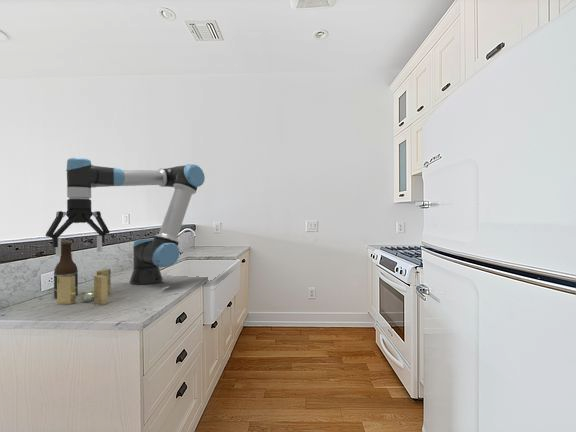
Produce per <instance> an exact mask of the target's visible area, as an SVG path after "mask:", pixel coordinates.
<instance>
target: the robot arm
mask: <svg viewBox="0 0 576 432" xmlns="http://www.w3.org/2000/svg"><path fill="white" fill-rule="evenodd" d="M65 171H66V182H67V183H66V197H67V198H68V199H67V200H66V206H67V207H66V209H67V210H66V211H61V210H58V211H56V214H55V218H54V220H53V221H52V223H51V224H50V226H49V228H48V229H47V232H46V233H45V237H48V238H51V241H52V243H51V245H52V248H55V256H56V257H60V256H61V243H62V238H60V236H62V234H63V233H64V232H65V231H66V230H67V229H68V228H69V227H70V226H71V225H73V224H79V223H80V224H81V223H82V224H84V223H86V224H87V225H89V226H90V227H91V228H92V229H93V230H94V231H95V232H96V233H97V234H98V235H96V252H99V253H102V252H103V244H104V243H105V236H106V235H107V234H110V230H109V229H108V226H107V224H106V222H105V221H104V219H103V218H102V216H101V215H102V213H101V211H99V210H98V211H97V210H96V211H92V200H91V199H92V188H102V187H104V188H105V187H107V188H108V187H134V186H135V187H137V186H139V187H140V186H159V187H161V188H163V187H167V188H174V192H173V194H172V197H171V199H170V202H169V205H168V207H167V210H166V213H165V216H164V219H163V222H162V223H161V224H162V225H161V227H160V230H159V232H158V233H157V234H155V235H154V236H153V238H141V239H135V241H133V271H132V273H131V276H130V279H129V284H130V285H133V286H149V285H155V284H163V283H162V282H163V275H162V273H161V272H162V271H161V270H160V268H168V267H169V268H170V267H171V266H173V265H175V264H176V263H177V261H178V260H179V258H180V254H181V253H180V252H181V251H180V248H179V247H178V245H179V244H180V243H179V240H178V236H179V234H180V231H181V228H182V224H183V221H184V219H185V216H186V214H187V213H186V212H187V210H188V207H189V204H190V202H191V198H192V196H194V194H196V193H197V189H198V187H201V186H202V185H203V184H204V183H205V178H206V176H205V173H204V171H203V168H201V167H200V166H199V165H197V164H194V163H193V164H192V163H190V164H189V163H188V164H183V165H178V166H173V167H172V166H171V167H167V168H159V169H157V170H152V169H151V170H139V169H136V170H135V169H131V170H130V169H129V170H128V169H121V168H118V167H117V168H116V167H109V166H108V167H107V166H98V165H93V164H92V161H91V160H90V159H88V158H83V157H70V158H68V159H67V161H66V170H65ZM65 216H66V217H67V219H66V220H65V222H63V224H62V225H61V226H60V227H59V225H60V223H61V222H62V220H63V218H65ZM92 216H93V217H94V218H95V219H96V221H97V223H98V225H99V226H100V227H99V226H98V225H97V224H96V223H95V222H94V220H93V219H92ZM58 227H59V228H58Z"/></svg>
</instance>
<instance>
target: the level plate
mask: <svg viewBox="0 0 576 432" xmlns="http://www.w3.org/2000/svg"><path fill="white" fill-rule="evenodd" d="M80 303H84V304H89V303H94V288H93V289H86V290H84V291H82V292H80Z"/></svg>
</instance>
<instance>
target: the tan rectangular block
mask: <svg viewBox="0 0 576 432" xmlns="http://www.w3.org/2000/svg"><path fill="white" fill-rule="evenodd" d="M75 303H76V296H75V276H73V275H61V276H57V299H56V304H58V305H59V304H60V305H72V304H75Z"/></svg>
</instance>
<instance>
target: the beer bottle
mask: <svg viewBox="0 0 576 432" xmlns="http://www.w3.org/2000/svg"><path fill="white" fill-rule="evenodd" d="M72 245H73V243H72V241H61V256H59V257H60V258H59V262H58V263H57V264H56V265H55V268H54V272H53V287H54V288H53V289H54V290H53V297H54V298H55V299H56V300H57V276H61V275H73V276H75V297H77V296H78V287H79V286H78V285H79V284H78V283H79V282H78V277H79V276H78V274H79V273H78V266H77V264H76V263H75V262H74V260H73V255H72Z"/></svg>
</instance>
